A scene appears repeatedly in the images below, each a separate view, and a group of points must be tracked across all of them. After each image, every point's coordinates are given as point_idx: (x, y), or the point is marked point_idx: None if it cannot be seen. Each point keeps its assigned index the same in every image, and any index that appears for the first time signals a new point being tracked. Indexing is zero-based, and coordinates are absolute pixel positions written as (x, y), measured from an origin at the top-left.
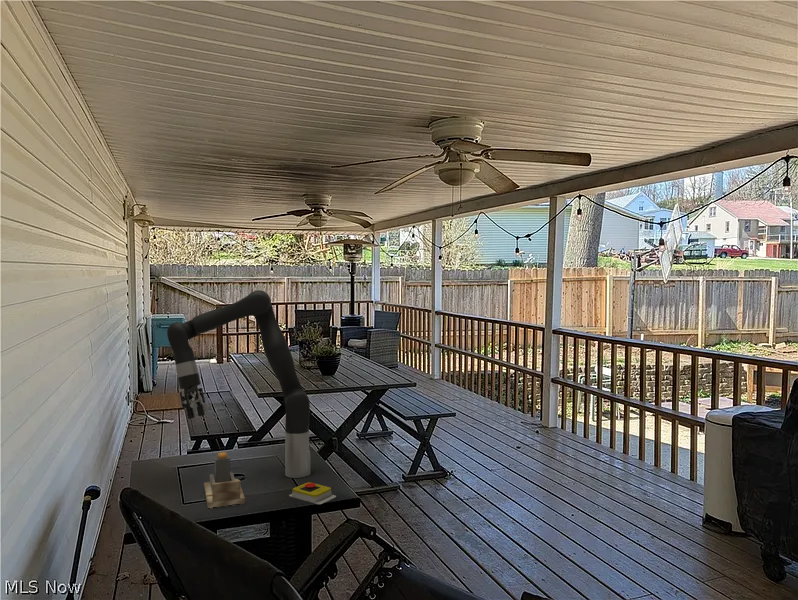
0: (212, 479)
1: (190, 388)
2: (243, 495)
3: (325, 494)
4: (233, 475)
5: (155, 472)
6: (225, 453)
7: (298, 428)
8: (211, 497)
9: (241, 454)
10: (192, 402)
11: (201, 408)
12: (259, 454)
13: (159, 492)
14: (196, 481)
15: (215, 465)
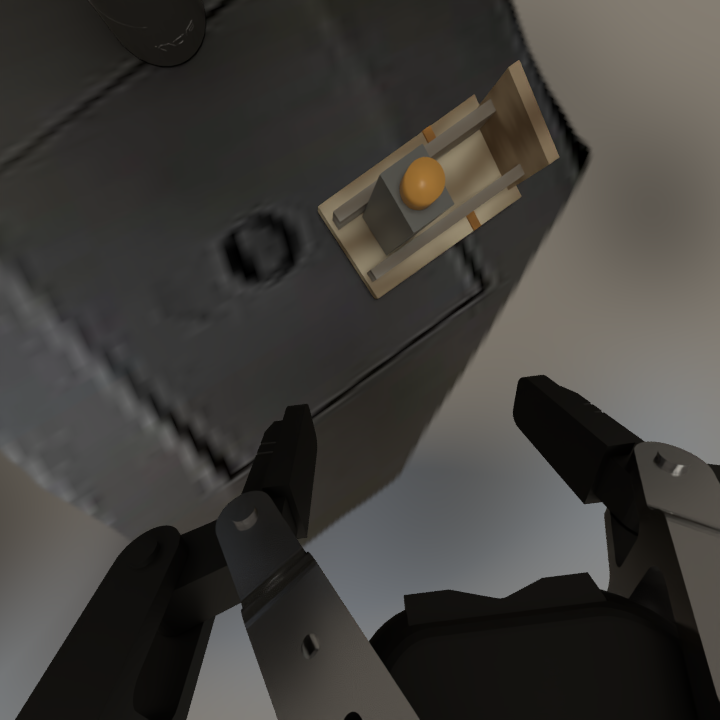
0: (421, 242)
1: None
2: (455, 109)
3: None
4: (369, 186)
5: None
6: (427, 159)
7: None
8: (483, 208)
9: (11, 362)
10: (684, 517)
11: (299, 465)
12: None
13: (426, 395)
14: (329, 352)
15: (438, 216)
